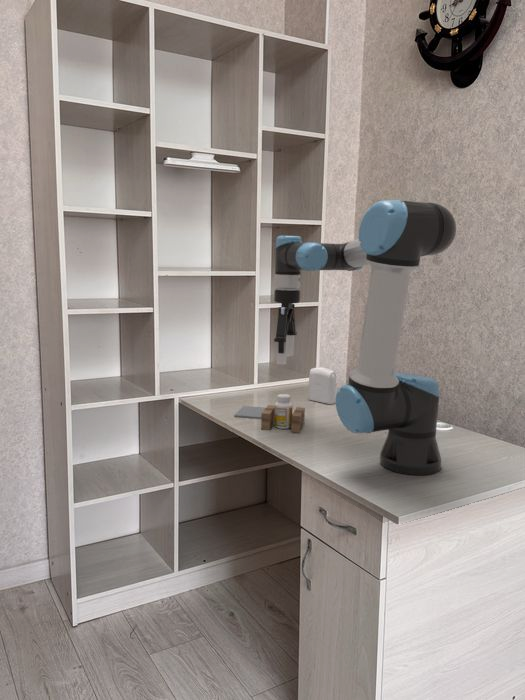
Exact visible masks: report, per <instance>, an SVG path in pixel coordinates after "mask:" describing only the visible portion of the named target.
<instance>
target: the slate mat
mask: <svg viewBox="0 0 525 700" xmlns="http://www.w3.org/2000/svg"><path fill="white" fill-rule="evenodd" d="M265 409H266V407H262V406H249V405H243V406H242V407H241V408H239V410H238V411H237V412H236V413H235V414H234V416H233V417H234V418H240V419H241V418H243V419H255V420H261V416H262V412H263V411H264V410H265Z"/></svg>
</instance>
